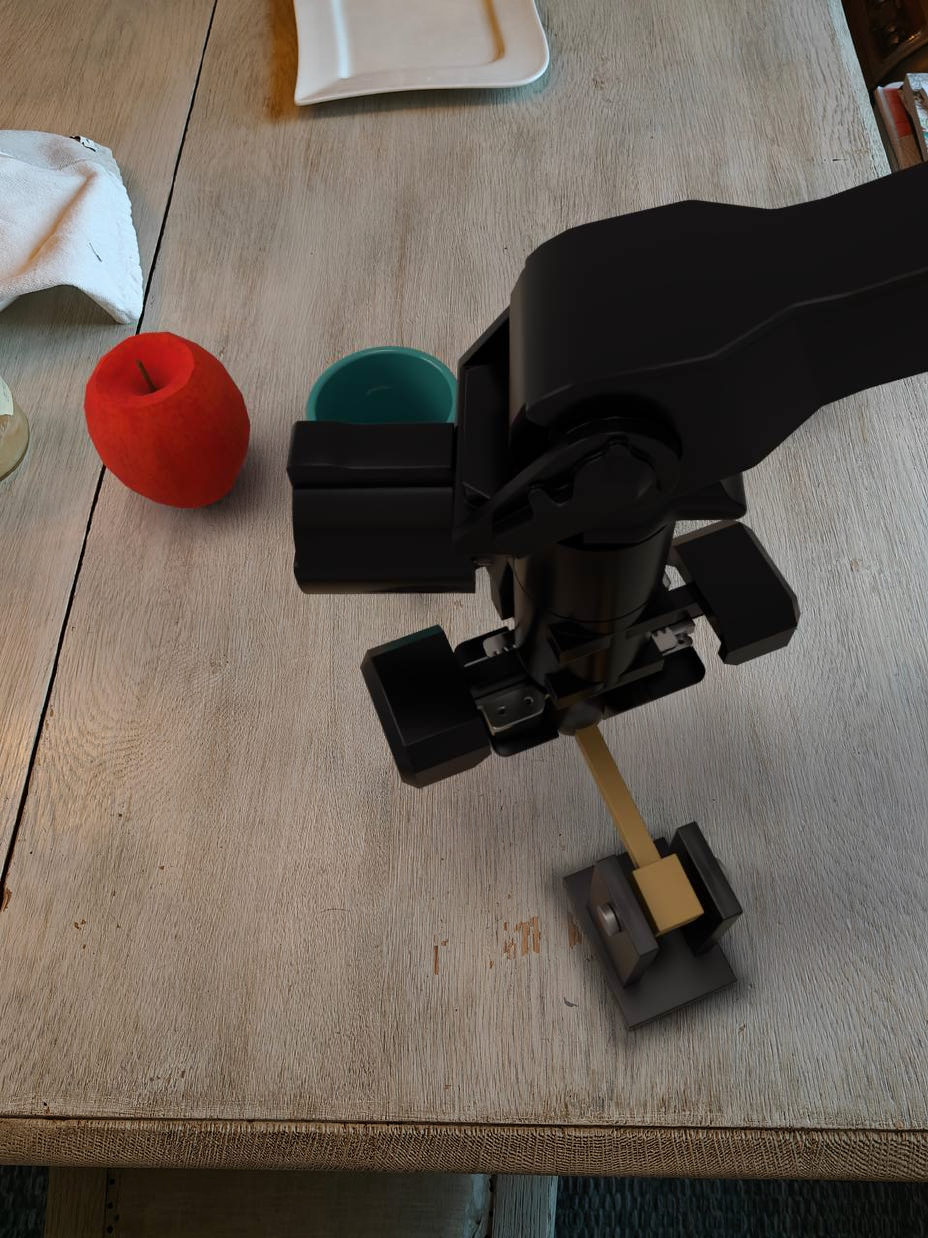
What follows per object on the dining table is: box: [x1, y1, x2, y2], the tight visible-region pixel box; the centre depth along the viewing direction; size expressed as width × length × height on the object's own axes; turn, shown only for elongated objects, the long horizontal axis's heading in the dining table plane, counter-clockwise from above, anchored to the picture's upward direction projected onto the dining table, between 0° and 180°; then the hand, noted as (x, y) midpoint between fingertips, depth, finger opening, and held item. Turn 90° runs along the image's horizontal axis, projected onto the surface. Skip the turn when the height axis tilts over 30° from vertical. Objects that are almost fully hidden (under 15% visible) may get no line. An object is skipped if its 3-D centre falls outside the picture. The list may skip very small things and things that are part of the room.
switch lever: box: [545, 693, 704, 937], centre depth 45 cm, size 13×3×3 cm, turn 21°
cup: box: [305, 345, 457, 425], centre depth 59 cm, size 9×12×11 cm
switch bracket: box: [562, 820, 744, 1032], centre depth 46 cm, size 8×6×10 cm
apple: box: [83, 331, 252, 509], centre depth 62 cm, size 10×10×12 cm
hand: (572, 722), depth 49 cm, fingers closed on switch lever, 3 cm apart
